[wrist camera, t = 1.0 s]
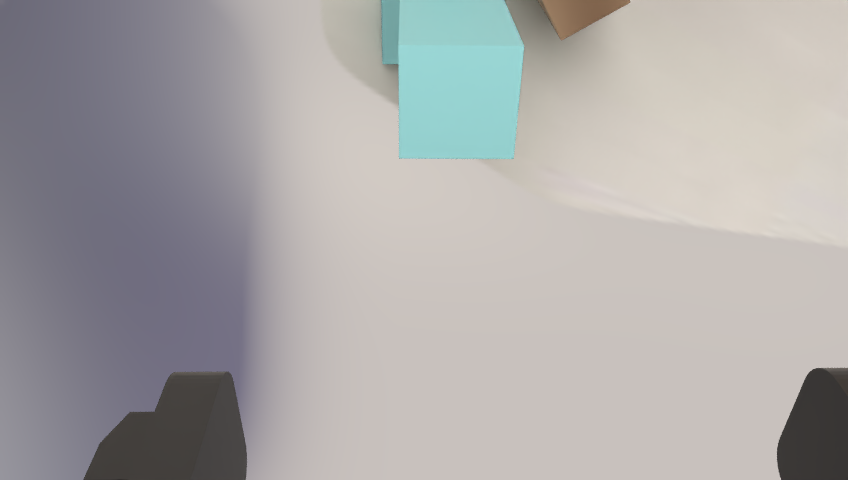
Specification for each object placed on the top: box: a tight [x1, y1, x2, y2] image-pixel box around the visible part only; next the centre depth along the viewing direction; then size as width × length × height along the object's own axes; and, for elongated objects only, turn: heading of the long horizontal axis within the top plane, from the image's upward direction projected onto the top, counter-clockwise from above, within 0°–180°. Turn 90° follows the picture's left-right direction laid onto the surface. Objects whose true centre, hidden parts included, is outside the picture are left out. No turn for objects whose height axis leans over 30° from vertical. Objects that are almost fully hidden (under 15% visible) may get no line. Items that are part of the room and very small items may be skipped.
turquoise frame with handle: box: [381, 0, 524, 159], centre depth 25 cm, size 5×10×18 cm, turn 179°
